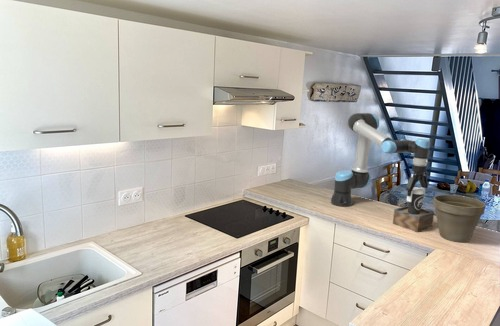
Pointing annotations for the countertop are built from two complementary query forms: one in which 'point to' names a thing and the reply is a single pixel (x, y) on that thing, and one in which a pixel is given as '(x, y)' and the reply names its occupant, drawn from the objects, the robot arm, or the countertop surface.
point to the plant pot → (457, 216)
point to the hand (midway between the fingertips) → (415, 199)
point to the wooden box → (413, 219)
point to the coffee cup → (416, 201)
